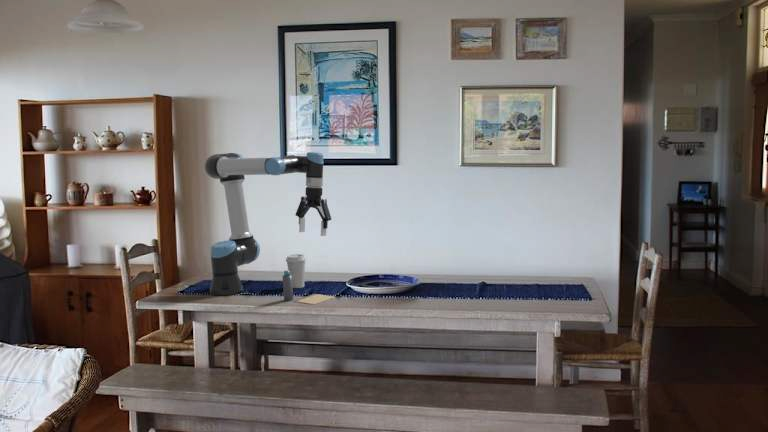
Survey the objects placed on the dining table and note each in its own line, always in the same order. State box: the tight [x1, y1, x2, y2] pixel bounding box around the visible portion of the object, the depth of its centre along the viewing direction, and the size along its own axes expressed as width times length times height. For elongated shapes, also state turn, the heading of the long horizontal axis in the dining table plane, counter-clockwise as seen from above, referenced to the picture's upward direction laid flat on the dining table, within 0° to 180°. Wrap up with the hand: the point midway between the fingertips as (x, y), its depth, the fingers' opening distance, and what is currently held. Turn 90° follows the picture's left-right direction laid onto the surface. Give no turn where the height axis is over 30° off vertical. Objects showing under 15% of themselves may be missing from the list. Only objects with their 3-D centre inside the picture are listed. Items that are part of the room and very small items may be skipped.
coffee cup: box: [285, 253, 307, 289], centre depth 322 cm, size 10×10×15 cm
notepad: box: [293, 293, 336, 306], centre depth 297 cm, size 12×14×1 cm
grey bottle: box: [282, 270, 294, 302], centre depth 297 cm, size 4×4×13 cm
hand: (312, 233), depth 305 cm, fingers open, 13 cm apart
